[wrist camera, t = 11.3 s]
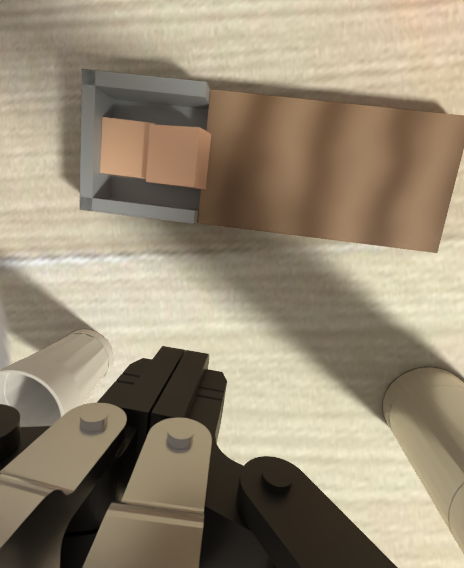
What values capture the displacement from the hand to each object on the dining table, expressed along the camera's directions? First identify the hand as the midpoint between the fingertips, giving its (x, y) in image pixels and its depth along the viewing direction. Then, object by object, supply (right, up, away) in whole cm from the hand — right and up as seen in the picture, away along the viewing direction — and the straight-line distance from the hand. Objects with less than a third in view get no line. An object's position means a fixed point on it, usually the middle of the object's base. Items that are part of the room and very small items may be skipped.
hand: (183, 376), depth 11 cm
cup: (-15, -5, +30) cm, 34 cm away
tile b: (-8, +16, +24) cm, 30 cm away
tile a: (-3, +15, +22) cm, 27 cm away
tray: (-6, +16, +24) cm, 30 cm away
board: (+11, +14, +23) cm, 29 cm away
